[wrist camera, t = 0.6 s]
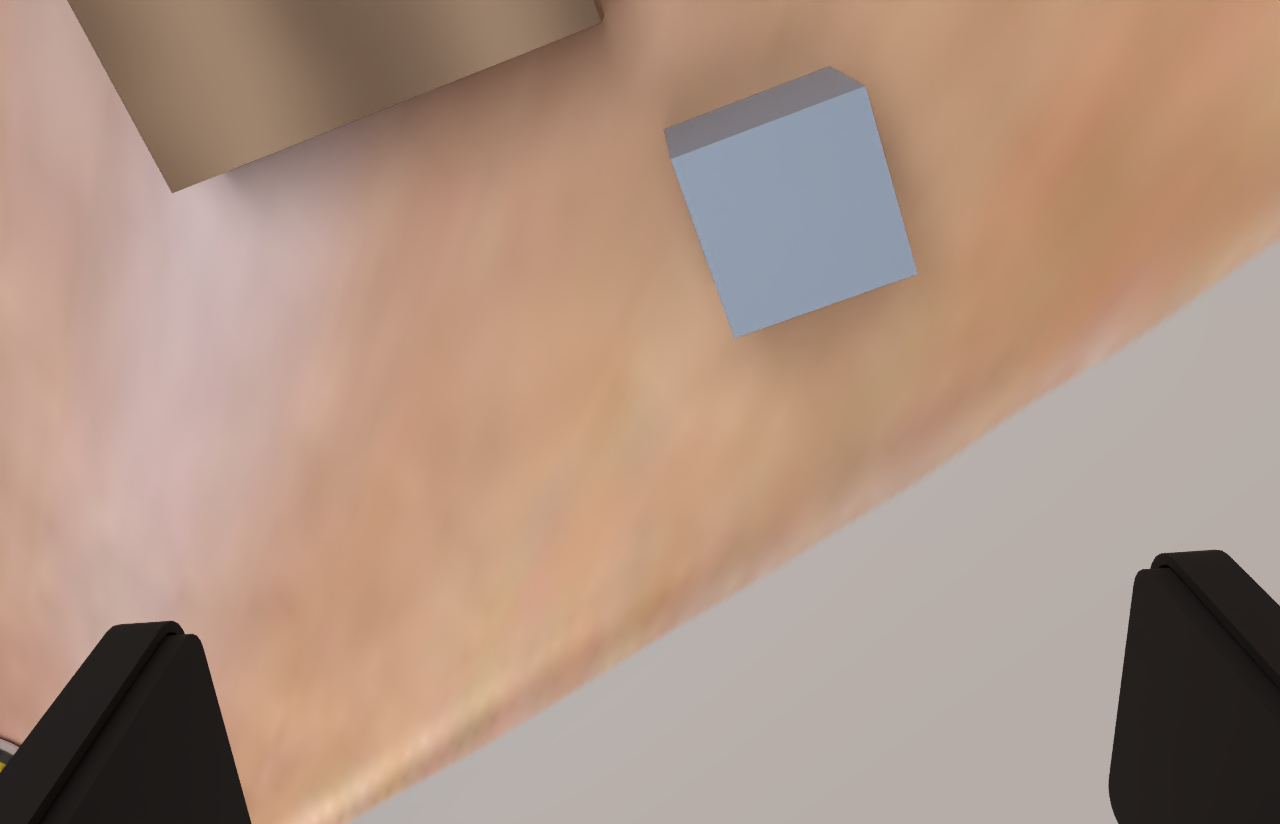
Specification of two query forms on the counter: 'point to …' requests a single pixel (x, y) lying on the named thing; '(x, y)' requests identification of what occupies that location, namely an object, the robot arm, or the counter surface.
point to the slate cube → (791, 199)
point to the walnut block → (295, 65)
